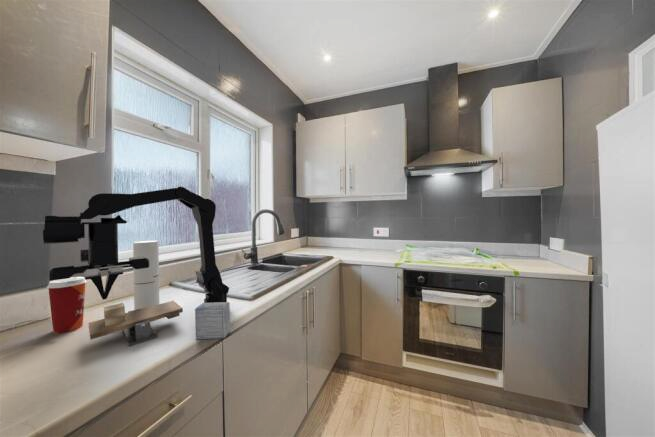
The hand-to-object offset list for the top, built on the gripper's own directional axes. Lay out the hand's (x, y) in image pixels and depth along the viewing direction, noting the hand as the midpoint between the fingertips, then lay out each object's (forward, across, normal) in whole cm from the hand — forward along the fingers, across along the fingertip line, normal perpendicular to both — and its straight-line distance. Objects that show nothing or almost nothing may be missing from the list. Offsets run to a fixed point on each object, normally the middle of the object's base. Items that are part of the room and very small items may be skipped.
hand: (104, 299), depth 63 cm
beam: (+9, -7, 0) cm, 12 cm away
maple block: (+7, -2, 0) cm, 7 cm away
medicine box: (+12, -21, +18) cm, 30 cm away
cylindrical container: (+12, -12, -18) cm, 25 cm away
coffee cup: (+12, +7, -20) cm, 24 cm away
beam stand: (+12, -7, 0) cm, 14 cm away
